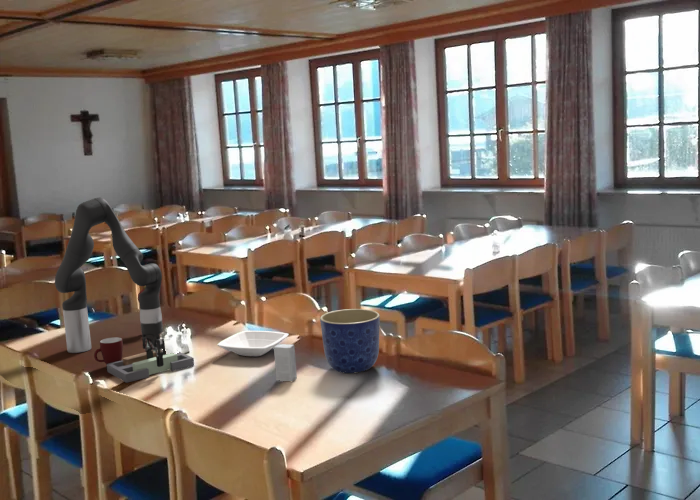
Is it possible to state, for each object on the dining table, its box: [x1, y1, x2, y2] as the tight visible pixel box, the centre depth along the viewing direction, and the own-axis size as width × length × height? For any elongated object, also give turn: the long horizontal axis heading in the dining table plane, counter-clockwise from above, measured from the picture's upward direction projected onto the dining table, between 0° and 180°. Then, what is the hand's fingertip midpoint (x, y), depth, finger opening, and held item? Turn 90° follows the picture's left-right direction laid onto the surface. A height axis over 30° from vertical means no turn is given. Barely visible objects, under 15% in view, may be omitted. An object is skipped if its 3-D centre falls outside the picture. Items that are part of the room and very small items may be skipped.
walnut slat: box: [122, 350, 158, 366], centre depth 302 cm, size 4×16×5 cm, turn 134°
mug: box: [93, 336, 124, 366], centre depth 303 cm, size 11×8×10 cm
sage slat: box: [132, 353, 178, 376], centre depth 295 cm, size 4×16×5 cm, turn 131°
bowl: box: [216, 330, 289, 357], centre depth 311 cm, size 22×23×6 cm
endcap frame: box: [106, 351, 195, 384], centre depth 299 cm, size 18×26×3 cm
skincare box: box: [273, 343, 298, 382], centre depth 277 cm, size 6×4×12 cm
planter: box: [319, 308, 381, 374], centre depth 285 cm, size 21×21×19 cm
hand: (155, 363), depth 295 cm, fingers open, 8 cm apart
